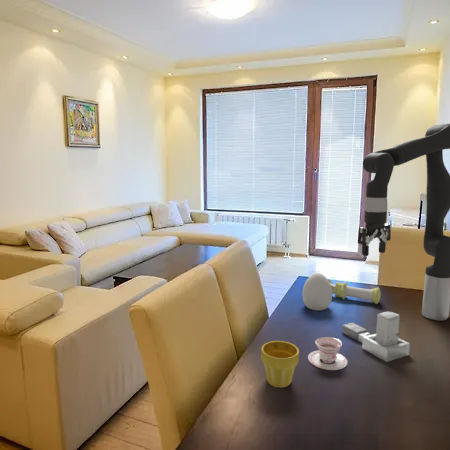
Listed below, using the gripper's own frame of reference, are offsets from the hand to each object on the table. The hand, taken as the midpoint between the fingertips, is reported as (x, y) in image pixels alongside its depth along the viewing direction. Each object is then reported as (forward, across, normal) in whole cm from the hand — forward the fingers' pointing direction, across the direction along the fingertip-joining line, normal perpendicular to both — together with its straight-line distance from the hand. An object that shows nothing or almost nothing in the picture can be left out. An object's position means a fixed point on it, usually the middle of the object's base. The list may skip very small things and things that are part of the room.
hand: (373, 254), depth 140 cm
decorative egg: (+28, +4, -25) cm, 38 cm away
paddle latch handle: (+28, +11, +10) cm, 32 cm away
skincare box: (+28, +10, +16) cm, 33 cm away
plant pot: (+28, +52, +14) cm, 60 cm away
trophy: (+29, -15, -27) cm, 42 cm away
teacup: (+28, +32, +11) cm, 44 cm away
